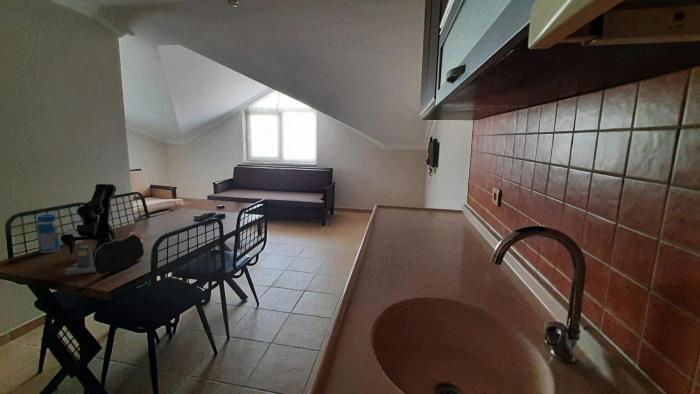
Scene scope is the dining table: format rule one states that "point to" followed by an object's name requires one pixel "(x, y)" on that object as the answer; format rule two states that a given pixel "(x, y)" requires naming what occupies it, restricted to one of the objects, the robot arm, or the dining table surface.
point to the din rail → (79, 270)
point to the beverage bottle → (48, 234)
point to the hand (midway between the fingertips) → (83, 253)
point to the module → (84, 256)
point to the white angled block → (74, 233)
